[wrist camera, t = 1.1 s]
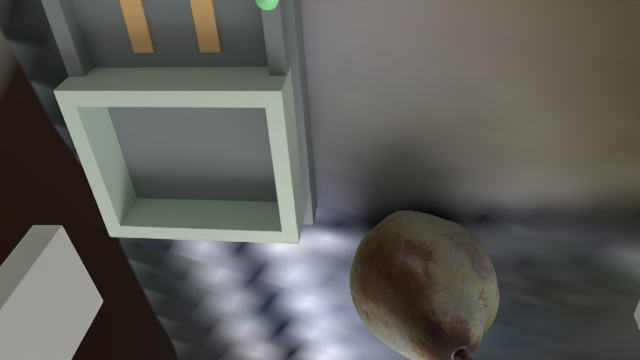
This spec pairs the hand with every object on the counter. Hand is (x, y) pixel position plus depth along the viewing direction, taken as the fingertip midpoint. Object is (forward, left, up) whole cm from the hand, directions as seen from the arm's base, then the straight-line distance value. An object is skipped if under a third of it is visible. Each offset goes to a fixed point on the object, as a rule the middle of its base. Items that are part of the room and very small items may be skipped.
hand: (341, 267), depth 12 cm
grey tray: (+5, -11, -22) cm, 25 cm away
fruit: (+19, +3, -22) cm, 29 cm away
